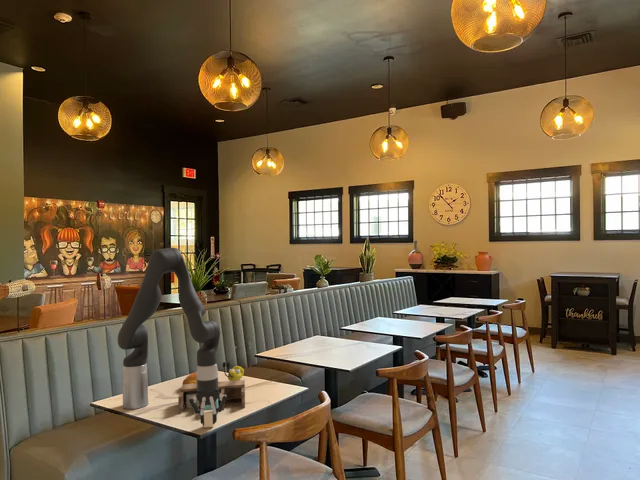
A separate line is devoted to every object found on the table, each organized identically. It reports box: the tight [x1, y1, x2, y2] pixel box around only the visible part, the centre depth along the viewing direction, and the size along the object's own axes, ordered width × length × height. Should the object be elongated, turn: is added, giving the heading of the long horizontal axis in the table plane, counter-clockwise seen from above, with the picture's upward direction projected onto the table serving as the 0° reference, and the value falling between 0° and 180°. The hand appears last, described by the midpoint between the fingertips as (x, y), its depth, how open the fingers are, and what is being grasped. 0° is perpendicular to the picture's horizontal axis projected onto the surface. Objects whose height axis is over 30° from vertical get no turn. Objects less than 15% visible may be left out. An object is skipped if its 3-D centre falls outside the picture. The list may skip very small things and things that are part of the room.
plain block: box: [186, 391, 200, 408], centre depth 194 cm, size 5×5×5 cm
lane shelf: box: [177, 379, 246, 414], centre depth 193 cm, size 26×13×8 cm, turn 99°
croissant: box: [182, 371, 197, 385], centre depth 217 cm, size 14×16×8 cm
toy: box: [222, 361, 245, 381], centre depth 211 cm, size 6×14×15 cm
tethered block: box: [203, 399, 219, 428], centre depth 178 cm, size 5×18×5 cm, turn 9°
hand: (208, 423), depth 170 cm, fingers closed on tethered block, 3 cm apart
